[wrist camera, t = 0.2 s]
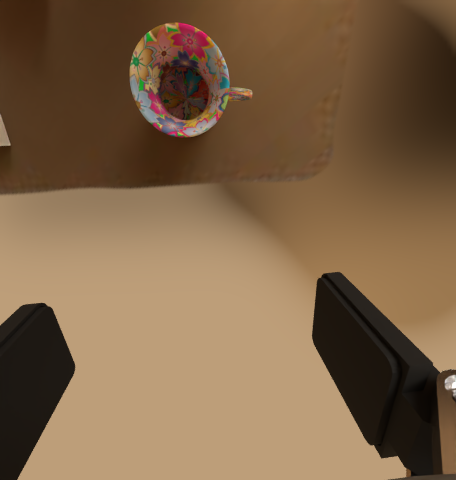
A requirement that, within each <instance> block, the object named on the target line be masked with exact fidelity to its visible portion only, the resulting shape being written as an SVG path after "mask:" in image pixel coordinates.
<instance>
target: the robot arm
mask: <svg viewBox="0 0 456 480" xmlns="http://www.w3.org/2000/svg"><path fill="white" fill-rule="evenodd" d="M312 339H313V343H314V345H315V347H316V349H317V351H318V353H319V355H320V356H321V358H322V360H323V362H324V364H325V365H326V368H327V369H328V371H329V373H330V375H331V377H332V379H333V380H334V382H335V384H336V386H337V388H338V390H339V392H340V393H341V395H342V397H343V399H344V401H345V403H346V405H347V406H348V408H349V410H350V412H351V414H352V416H353V417H354V419H355V421H356V423H357V425H358V427H359V429H360V430H361V432H362V434H363V436H364V438H365V439H366V441H367V442H368V443H369V444H370V445H374V446H375V448H376V450H377V451H378V453H379V455H380V457H381V458H388V457H394V456H398V457H399V459H400V460H401V462H402V463H403V465H404V467H405V468H406V477H405V478H398V479H391V480H456V370H452V369H450V370H445V371H442V372H441V373H440V372H439V371H438V370H437V369H436V368H435V367H434V366H433V363H432V362H431V361H430V360H429V359H428V358H427V357H426V356H425V355H424V354H423V353H422V352H421V351H420V350H419V349H418V348H417V347H416V346H415V345H414V344H413V343H412V342H411V341H410V340H409V339H408V338H407V337H406V336H405V335H404V334H403V333H402V332H401V331H400V330H399V329H398V328H397V327H396V326H395V325H394V324H393V323H392V322H391V321H390V320H389V319H388V318H387V317H386V316H384V315H383V314H382V313H381V312H380V311H379V310H378V309H377V308H376V307H375V306H374V305H373V304H372V303H371V302H370V301H369V300H368V299H367V298H366V297H365V296H364V295H363V294H362V293H361V292H360V291H359V290H358V289H357V288H356V287H355V286H354V285H353V284H352V283H351V282H350V281H349V280H348V279H347V278H346V277H345V276H344V275H343V274H342V273H340V272H335V273H325V274H323V275H322V277H321V278H319V279H318V280H317V288H316V299H315V309H314V320H313V331H312ZM74 371H75V363H74V361H73V358H72V356H71V353H70V351H69V348H68V346H67V343H66V341H65V339H64V336H63V334H62V331H61V329H60V326H59V324H58V321H57V319H56V316H55V314H54V312H53V309H52V308H51V307H48V306H47V305H46V304H45V303H36V304H26V305H23V306H21V307H20V308H19V309H18V310H16V311H15V312H14V313H13V314H12V315H11V316H10V317H9V318H8V319H7V320H6V321H5V322H4V323H3V324H1V325H0V480H17V479H18V477H19V475H20V473H21V471H22V470H23V468H24V466H25V464H26V462H27V460H28V458H29V456H30V455H31V453H32V451H33V449H34V447H35V445H36V443H37V442H38V440H39V438H40V436H41V434H42V432H43V430H44V429H45V427H46V425H47V423H48V421H49V419H50V418H51V416H52V414H53V412H54V410H55V408H56V406H57V404H58V403H59V401H60V399H61V397H62V395H63V393H64V391H65V390H66V388H67V386H68V384H69V382H70V380H71V378H72V377H73V374H74Z"/></svg>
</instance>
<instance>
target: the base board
mask: <svg viewBox="0 0 456 480" xmlns="http://www.w3.org/2000/svg"><path fill="white" fill-rule="evenodd" d="M0 146H11V144H10V141H9V138H8V135H7V132H6V129H5V126H4V123H3V120H2V117H1V115H0Z"/></svg>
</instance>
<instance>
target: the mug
mask: <svg viewBox="0 0 456 480" xmlns="http://www.w3.org/2000/svg"><path fill="white" fill-rule="evenodd" d="M130 86H131V91H132V95H133V98H134V100H135V103H136V105H137V107H138V109H139V110H140V112H141V113H142V115H143V116H144V117H145V118H146V120H147V121H148V122H149V123H150V124H151V125H153V126H154V127H155V128H157V129H158V130H160V131H161V132H163V133H165V134H168V135H171V136H175V137H185V138H186V137H193V136H197V135H200V134H202V133H204V132H206V131H207V130H209V129H210V128H211V127H212V126H214V125H215V123H216V122H217V121H218V120H219V119H220V117H221V115H222V114H223V112H224V110H225V107H226V105H227V101H241V100H248V99H251V98H252V91H251V90H249V89H245V88H236V87H230V82H229V74H228V69H227V65H226V62H225V60H224V57H223V55H222V53H221V51H220V50H219V48H218V47H217V45H216V44H215V43H214V42H213V40H212V39H211V38H210V37H209V36H207V35H206V34H205V33H204V32H202V31H201V30H199V29H197V28H196V27H193V26H191V25H188V24H184V23H167V24H163V25H160V26H158V27H155V28H154V29H152V30H151V31H149V32H148V33H147V34H146V35H145V36H144V37H143V38H142V39H141V40H140V42H139V43H138V45H137V47H136V49H135V51H134V53H133V56H132V59H131V64H130Z"/></svg>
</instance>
